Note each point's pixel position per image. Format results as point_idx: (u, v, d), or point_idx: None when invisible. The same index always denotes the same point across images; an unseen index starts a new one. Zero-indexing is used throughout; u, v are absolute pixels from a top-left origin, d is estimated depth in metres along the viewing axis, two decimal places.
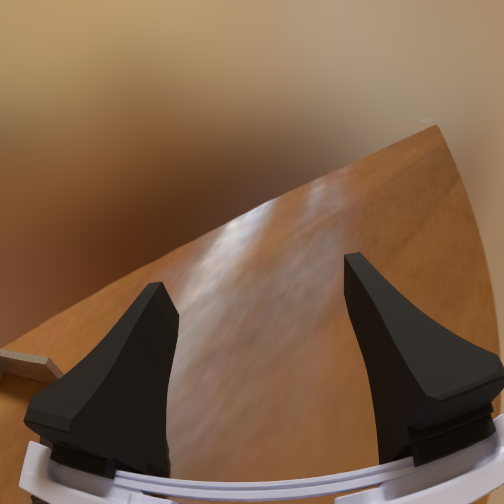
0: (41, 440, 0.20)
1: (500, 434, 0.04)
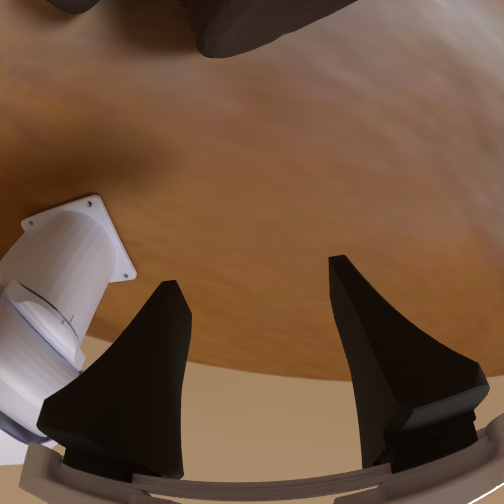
0: None
1: (500, 434, 0.04)
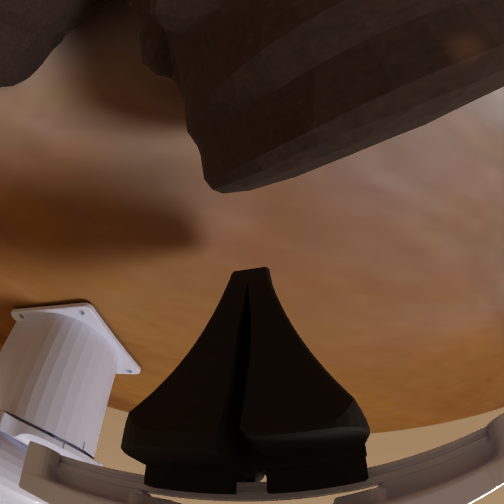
0: None
1: (500, 434, 0.04)
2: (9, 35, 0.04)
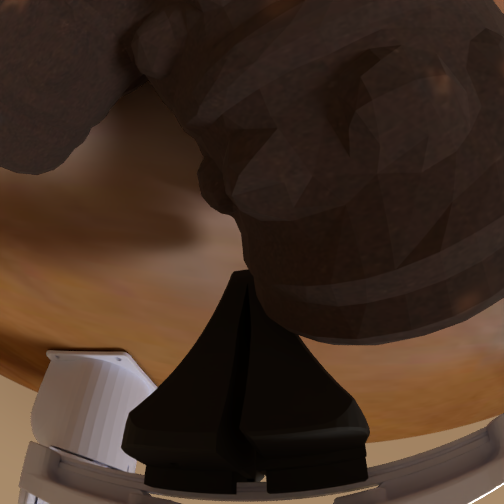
0: None
1: (500, 434, 0.04)
2: (46, 134, 0.06)
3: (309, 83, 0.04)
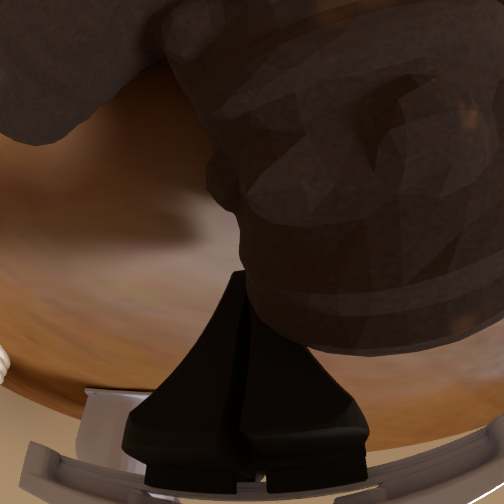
0: None
1: (500, 434, 0.04)
2: (54, 104, 0.06)
3: (346, 96, 0.04)
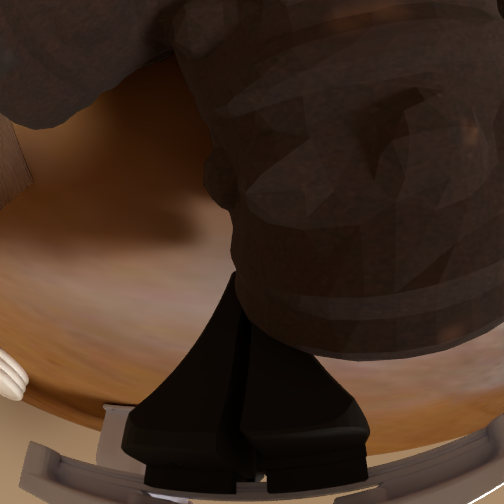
0: None
1: (500, 434, 0.04)
2: (57, 88, 0.05)
3: (352, 103, 0.04)
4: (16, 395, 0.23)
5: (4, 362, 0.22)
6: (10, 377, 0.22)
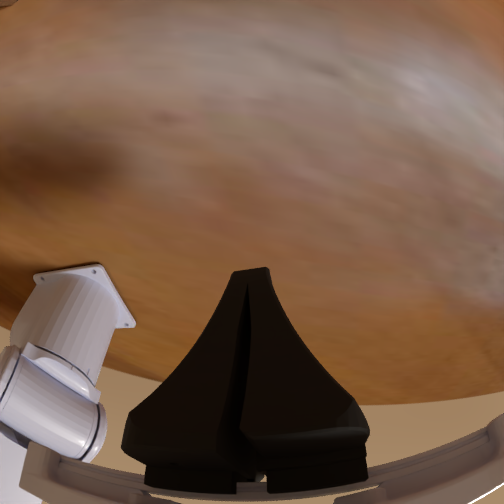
0: None
1: (500, 434, 0.04)
2: None
3: None
4: None
5: None
6: None
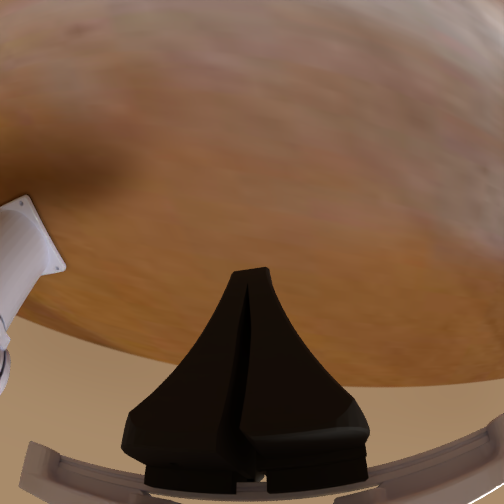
0: None
1: (500, 434, 0.04)
2: None
3: None
4: None
5: None
6: None
